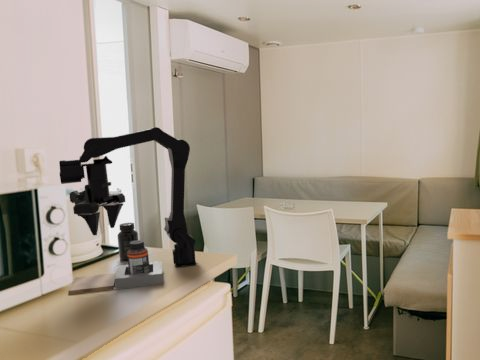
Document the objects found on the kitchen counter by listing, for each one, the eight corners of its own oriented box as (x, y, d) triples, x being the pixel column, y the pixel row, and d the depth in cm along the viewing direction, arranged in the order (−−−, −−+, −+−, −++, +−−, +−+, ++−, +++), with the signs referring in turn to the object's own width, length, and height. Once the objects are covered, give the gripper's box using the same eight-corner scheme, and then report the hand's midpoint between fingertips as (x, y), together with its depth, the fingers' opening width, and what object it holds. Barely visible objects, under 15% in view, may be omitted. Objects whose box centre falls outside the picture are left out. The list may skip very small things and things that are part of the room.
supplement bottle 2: (134, 276, 142) (130, 239, 141) (153, 276, 141) (150, 238, 140) (126, 283, 136) (123, 244, 135) (146, 282, 135) (143, 244, 134)
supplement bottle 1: (143, 255, 164) (140, 221, 163) (133, 261, 158) (130, 226, 157) (126, 255, 167) (123, 221, 165) (115, 260, 160) (112, 226, 159)
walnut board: (116, 276, 143) (116, 272, 143) (113, 289, 132) (113, 285, 131) (75, 280, 141) (75, 277, 141) (68, 294, 129) (68, 290, 129)
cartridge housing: (162, 270, 146) (161, 261, 146) (163, 283, 133) (162, 273, 133) (118, 275, 144) (117, 265, 143) (115, 289, 131) (114, 278, 131)
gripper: (93, 177, 152) (98, 224, 154) (54, 185, 135) (61, 239, 137) (123, 175, 149) (128, 224, 151) (87, 184, 131) (94, 239, 133)
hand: (103, 231), depth 143 cm, fingers open, 9 cm apart
